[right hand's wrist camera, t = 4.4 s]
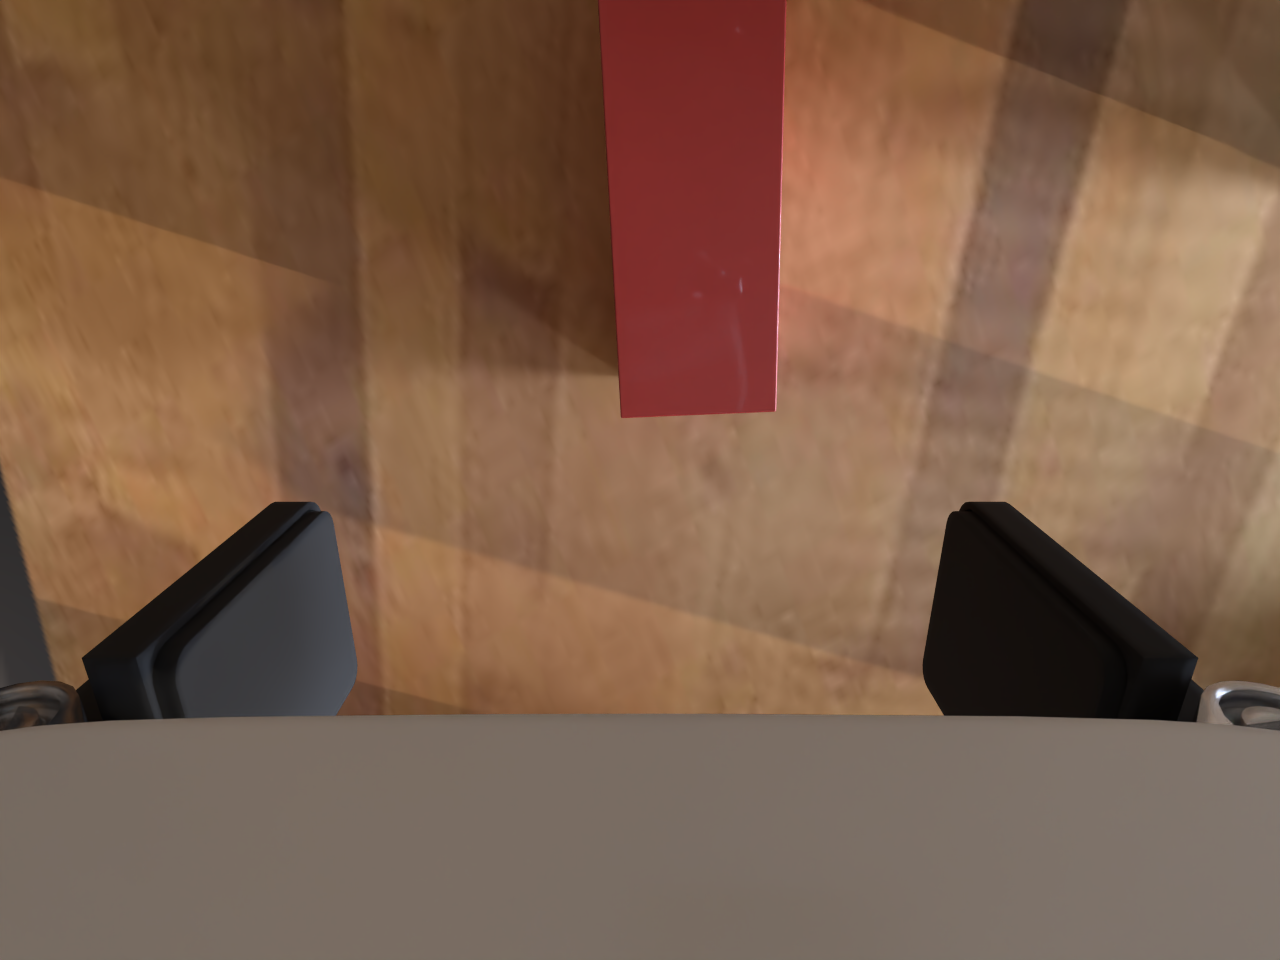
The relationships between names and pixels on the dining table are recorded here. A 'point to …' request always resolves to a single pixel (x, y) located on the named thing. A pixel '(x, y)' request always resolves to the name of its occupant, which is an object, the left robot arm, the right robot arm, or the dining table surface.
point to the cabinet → (695, 200)
